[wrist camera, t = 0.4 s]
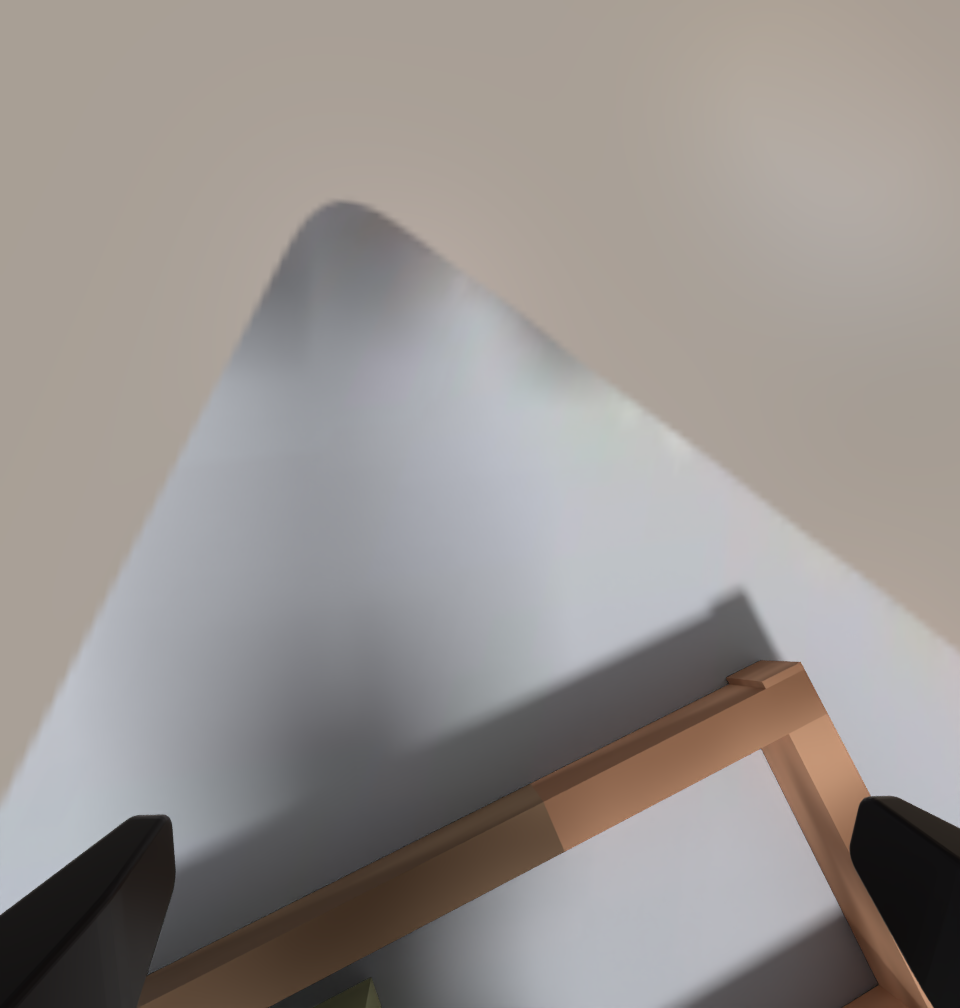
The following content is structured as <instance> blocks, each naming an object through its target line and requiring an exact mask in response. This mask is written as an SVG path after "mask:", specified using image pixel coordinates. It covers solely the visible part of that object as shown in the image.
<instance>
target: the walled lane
mask: <svg viewBox="0 0 960 1008" xmlns="http://www.w3.org/2000/svg"><path fill="white" fill-rule="evenodd" d="M726 679H727V681H728V683H729V685H727V686H725V687H723V688H721V689H719V690H717V691H715V692H713V693H711V694H709V695H707V696H705V697H703V698H701V699H699V700H697V701H695V702H693V703H691V704H689V705H687V706H685V707H683V708H681V709H679V710H677V711H675V712H673V713H671V714H669V715H667V716H665V717H663V718H661V719H659V720H657V721H655V722H653V723H651V724H649V725H647V726H645V727H643V728H641V729H639V730H637V731H635V732H633V733H631V734H629V735H627V736H625V737H623V738H621V739H619V740H617V741H615V742H613V743H611V744H609V745H607V746H605V747H603V748H601V749H599V750H597V751H595V752H593V753H591V754H589V755H587V756H585V757H583V758H581V759H579V760H577V761H575V762H573V763H571V764H569V765H567V766H565V767H563V768H561V769H559V770H557V771H555V772H553V773H551V774H549V775H547V776H545V777H543V778H541V779H539V780H537V781H535V782H533V783H531V784H529V785H527V786H525V787H523V788H521V789H519V790H517V791H515V792H513V793H511V794H509V795H507V796H505V797H503V798H501V799H499V800H497V801H495V802H493V803H491V804H489V805H487V806H485V807H483V808H481V809H479V810H477V811H475V812H473V813H471V814H469V815H467V816H465V817H463V818H461V819H459V820H457V821H455V822H453V823H451V824H449V825H447V826H445V827H443V828H441V829H439V830H437V831H435V832H433V833H431V834H429V835H427V836H425V837H423V838H421V839H419V840H417V841H415V842H413V843H411V844H409V845H407V846H405V847H403V848H401V849H399V850H397V851H395V852H393V853H391V854H389V855H387V856H385V857H383V858H381V859H379V860H377V861H375V862H373V863H371V864H369V865H367V866H365V867H363V868H361V869H359V870H357V871H355V872H353V873H351V874H349V875H347V876H345V877H343V878H341V879H339V880H337V881H335V882H333V883H331V884H329V885H327V886H325V887H323V888H321V889H319V890H317V891H315V892H313V893H311V894H309V895H307V896H305V897H303V898H301V899H299V900H297V901H295V902H293V903H291V904H289V905H287V906H285V907H283V908H281V909H279V910H277V911H275V912H273V913H271V914H269V915H267V916H265V917H263V918H261V919H259V920H257V921H255V922H253V923H251V924H249V925H247V926H245V927H243V928H241V929H239V930H237V931H235V932H233V933H231V934H229V935H227V936H225V937H223V938H221V939H219V940H217V941H215V942H213V943H211V944H209V945H207V946H205V947H203V948H201V949H199V950H197V951H195V952H193V953H191V954H189V955H187V956H185V957H183V958H181V959H179V960H177V961H175V962H173V963H171V964H169V965H167V966H165V967H163V968H161V969H159V970H157V971H155V972H153V973H151V974H149V975H147V976H146V979H145V982H144V985H143V988H142V992H141V995H140V998H139V1001H138V1004H137V1008H268V1007H270V1006H272V1005H274V1004H276V1003H278V1002H279V1001H281V1000H283V999H285V998H287V997H289V996H291V995H293V994H295V993H297V992H298V991H300V990H302V989H304V988H306V987H308V986H310V985H312V984H314V983H316V982H318V981H319V980H321V979H323V978H325V977H327V976H329V975H331V974H333V973H335V972H337V971H338V970H340V969H342V968H344V967H346V966H348V965H350V964H352V963H354V962H356V961H357V960H359V959H361V958H363V957H365V956H367V955H369V954H371V953H373V952H375V951H377V950H378V949H380V948H382V947H384V946H386V945H388V944H390V943H392V942H394V941H396V940H397V939H399V938H401V937H403V936H405V935H407V934H409V933H411V932H413V931H415V930H416V929H418V928H420V927H422V926H424V925H426V924H428V923H430V922H432V921H434V920H435V919H437V918H439V917H441V916H443V915H445V914H447V913H449V912H451V911H453V910H455V909H456V908H458V907H460V906H462V905H464V904H466V903H468V902H470V901H472V900H474V899H475V898H477V897H479V896H481V895H483V894H485V893H487V892H489V891H491V890H493V889H494V888H496V887H498V886H500V885H502V884H504V883H506V882H508V881H510V880H512V879H513V878H515V877H517V876H519V875H521V874H523V873H525V872H527V871H529V870H531V869H533V868H534V867H536V866H538V865H540V864H542V863H544V862H546V861H548V860H550V859H552V858H553V857H555V856H557V855H559V854H561V853H563V852H565V851H567V850H569V849H571V848H572V847H574V846H576V845H578V844H580V843H582V842H584V841H586V840H588V839H590V838H592V837H593V836H595V835H597V834H599V833H601V832H603V831H605V830H607V829H609V828H611V827H612V826H614V825H616V824H618V823H620V822H622V821H624V820H626V819H628V818H630V817H631V816H633V815H635V814H637V813H639V812H641V811H643V810H645V809H647V808H649V807H650V806H652V805H654V804H656V803H658V802H660V801H662V800H664V799H666V798H668V797H670V796H671V795H673V794H675V793H677V792H679V791H681V790H683V789H685V788H687V787H689V786H690V785H692V784H694V783H696V782H698V781H700V780H702V779H704V778H706V777H708V776H709V775H711V774H713V773H715V772H717V771H719V770H721V769H723V768H725V767H727V766H728V765H730V764H732V763H734V762H736V761H738V760H740V759H742V758H744V757H746V756H748V755H749V754H751V753H753V752H755V751H757V750H759V749H762V751H763V753H764V755H765V757H766V759H767V761H768V763H769V765H770V767H771V769H772V771H773V773H774V775H775V777H776V779H777V781H778V783H779V785H780V787H781V789H782V791H783V793H784V795H785V797H786V799H787V801H788V803H789V805H790V807H791V809H792V811H793V813H794V815H795V817H796V819H797V821H798V823H799V825H800V827H801V829H802V831H803V833H804V835H805V837H806V839H807V841H808V843H809V845H810V847H811V849H812V851H813V853H814V855H815V857H816V859H817V861H818V863H819V865H820V867H821V869H822V871H823V873H824V875H825V877H826V879H827V881H828V883H829V885H830V887H831V889H832V891H833V893H834V895H835V897H836V899H837V901H838V903H839V905H840V907H841V909H842V911H843V913H844V916H845V918H846V920H847V922H848V924H849V926H850V928H851V930H852V932H853V934H854V936H855V938H856V940H857V942H858V944H859V946H860V948H861V950H862V952H863V954H864V956H865V958H866V960H867V962H868V964H869V966H870V968H871V970H872V972H873V974H874V976H875V978H876V980H877V982H878V984H879V985H878V986H876V987H875V988H873V989H871V990H870V991H868V992H867V993H865V994H863V995H862V996H860V997H859V998H857V999H855V1000H854V1001H852V1002H851V1003H849V1004H847V1005H846V1006H844V1007H842V1008H933V1006H932V1005H931V1003H930V1001H929V1000H928V998H927V997H926V995H925V994H924V992H923V990H922V989H921V987H920V985H919V983H918V982H917V980H916V978H915V976H914V975H913V973H912V971H911V970H910V968H909V966H908V964H907V962H906V961H905V959H904V957H903V955H902V953H901V952H900V950H899V948H898V946H897V944H896V943H895V941H894V939H893V937H892V935H891V933H890V932H889V930H888V928H887V926H886V924H885V923H884V921H883V919H882V917H881V915H880V914H879V912H878V910H877V908H876V906H875V905H874V903H873V901H872V899H871V897H870V896H869V894H868V892H867V890H866V888H865V887H864V885H863V883H862V881H861V879H860V878H859V876H858V874H857V872H856V870H855V868H854V866H853V864H852V861H851V857H850V852H849V846H850V840H851V836H852V832H853V828H854V823H855V819H856V815H857V811H858V806H859V804H860V802H861V801H862V800H863V799H864V798H866V797H869V796H870V794H869V792H868V790H867V788H866V786H865V784H864V782H863V780H862V778H861V776H860V775H859V773H858V771H857V769H856V767H855V765H854V763H853V761H852V759H851V757H850V755H849V754H848V752H847V750H846V748H845V746H844V744H843V742H842V740H841V738H840V736H839V734H838V733H837V731H836V729H835V727H834V725H833V723H832V721H831V719H830V717H829V715H828V713H827V711H826V710H825V708H824V706H823V704H822V702H821V700H820V698H819V696H818V694H817V692H816V690H815V689H814V687H813V685H812V683H811V681H810V679H809V677H808V675H807V673H806V671H805V669H804V668H803V666H802V664H801V662H787V661H765V660H760V661H758V662H756V663H754V664H752V665H750V666H748V667H746V668H744V669H742V670H740V671H738V672H736V673H734V674H732V675H730V676H728V677H726Z"/></svg>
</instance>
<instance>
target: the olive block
mask: <svg viewBox="0 0 960 1008" xmlns="http://www.w3.org/2000/svg"><path fill="white" fill-rule="evenodd" d="M313 1008H382V1007H381V1004H380V1001H379V998H378V996H377V993H376V990H375V987H374V984H373V981H372V978H371V977H370V978H369V979H367V980H365V981H363V982H361V983H359V984H357V985H355V986H353V987H351V988H349V989H347V990H345V991H343V992H342V993H340V994H338V995H336V996H334V997H332V998H330V999H328V1000H326V1001H324V1002H322V1003H320V1004H318V1005H317V1006H315V1007H313Z"/></svg>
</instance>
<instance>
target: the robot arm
mask: <svg viewBox="0 0 960 1008" xmlns="http://www.w3.org/2000/svg"><path fill="white" fill-rule="evenodd" d="M849 852H850V857H851V861H852V864H853V866H854V868H855V870H856V872H857V874H858V876H859V878H860V879H861V881H862V883H863V885H864V887H865V888H866V890H867V892H868V894H869V896H870V897H871V899H872V901H873V903H874V905H875V906H876V908H877V910H878V912H879V914H880V915H881V917H882V919H883V921H884V923H885V924H886V926H887V928H888V930H889V932H890V933H891V935H892V937H893V939H894V941H895V943H896V944H897V946H898V948H899V950H900V952H901V953H902V955H903V957H904V959H905V961H906V962H907V964H908V966H909V968H910V970H911V971H912V973H913V975H914V976H915V978H916V980H917V982H918V983H919V985H920V987H921V989H922V990H923V992H924V994H925V995H926V997H927V998H928V1000H929V1001H930V1003H931V1005H932V1006H933V1008H960V828H958V827H956V826H954V825H952V824H950V823H948V822H946V821H944V820H942V819H940V818H938V817H936V816H934V815H932V814H930V813H928V812H926V811H924V810H922V809H920V808H918V807H916V806H914V805H912V804H910V803H908V802H906V801H904V800H902V799H900V798H898V797H894V796H869V797H866V798H864V799H863V800H862V801H861V802H860V804H859V806H858V811H857V815H856V819H855V823H854V828H853V832H852V836H851V840H850V846H849ZM175 874H176V869H175V855H174V842H173V829H172V823H171V820H170V818H169V817H168V816H166V815H137V816H133V817H131V818H129V819H127V820H126V821H125V822H123V823H122V824H121V825H119V826H118V827H117V828H115V829H114V830H113V831H111V832H110V833H109V834H107V835H106V836H105V837H103V838H102V839H101V840H99V841H98V842H97V843H95V844H94V845H93V846H91V847H90V848H89V849H87V850H86V851H85V852H83V853H82V854H81V855H79V856H78V857H77V858H75V859H74V860H73V861H72V862H70V863H69V864H68V865H66V866H65V867H64V868H62V869H61V870H60V871H58V872H57V873H56V874H54V875H53V876H52V877H50V878H49V879H48V880H46V881H45V882H44V883H42V884H41V885H40V886H38V887H37V888H36V889H34V890H33V891H32V892H30V893H29V894H28V895H26V896H25V897H24V898H22V899H21V900H20V901H18V902H17V903H16V904H14V905H13V906H12V907H10V908H9V909H8V910H6V911H5V912H4V913H2V914H1V915H0V1008H137V1004H138V1001H139V998H140V995H141V992H142V988H143V985H144V982H145V979H146V976H147V972H148V969H149V966H150V963H151V960H152V957H153V953H154V950H155V947H156V944H157V941H158V937H159V934H160V931H161V928H162V925H163V922H164V918H165V915H166V912H167V909H168V906H169V902H170V899H171V896H172V893H173V888H174V883H175Z"/></svg>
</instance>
